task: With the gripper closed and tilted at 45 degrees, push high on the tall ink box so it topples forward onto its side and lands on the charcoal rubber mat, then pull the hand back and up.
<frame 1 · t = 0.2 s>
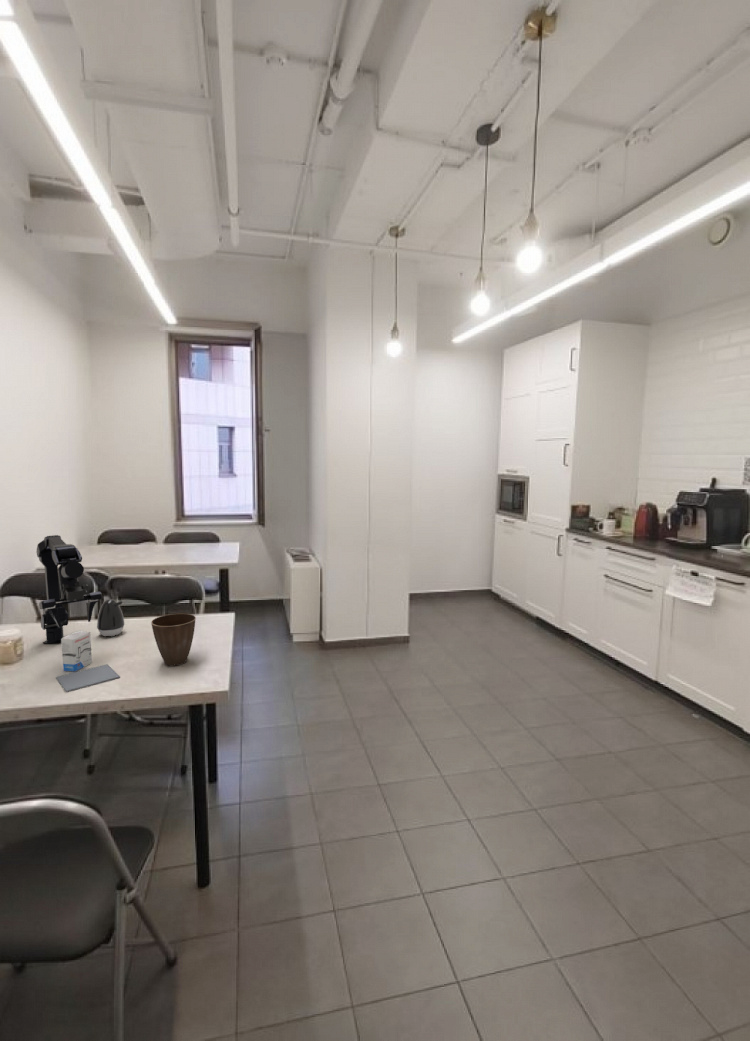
hand: (74, 624, 181), 15 cm above the table, tool tilted 15°, fingers open, 9 cm apart
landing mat: (88, 678, 173), on the table
ink box: (78, 667, 182), on the table
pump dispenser: (111, 635, 215), on the table
plant pot: (175, 662, 187), on the table
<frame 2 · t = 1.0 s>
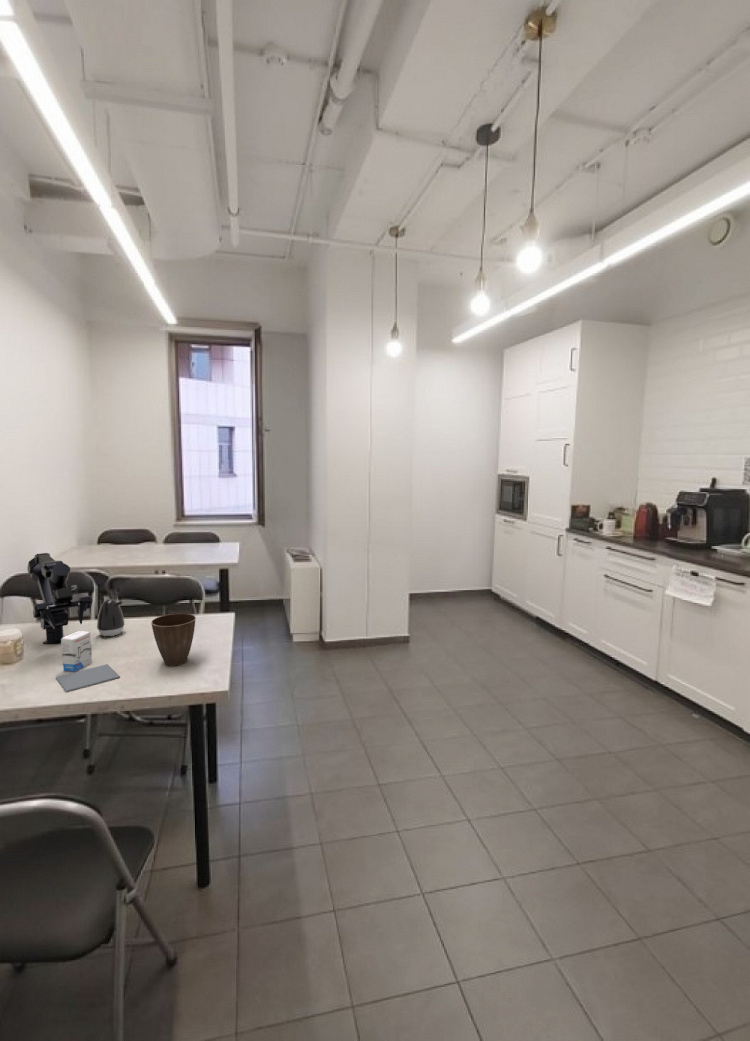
hand: (68, 626, 189), 12 cm above the table, tool tilted 45°, fingers open, 8 cm apart
nothing on the table moved.
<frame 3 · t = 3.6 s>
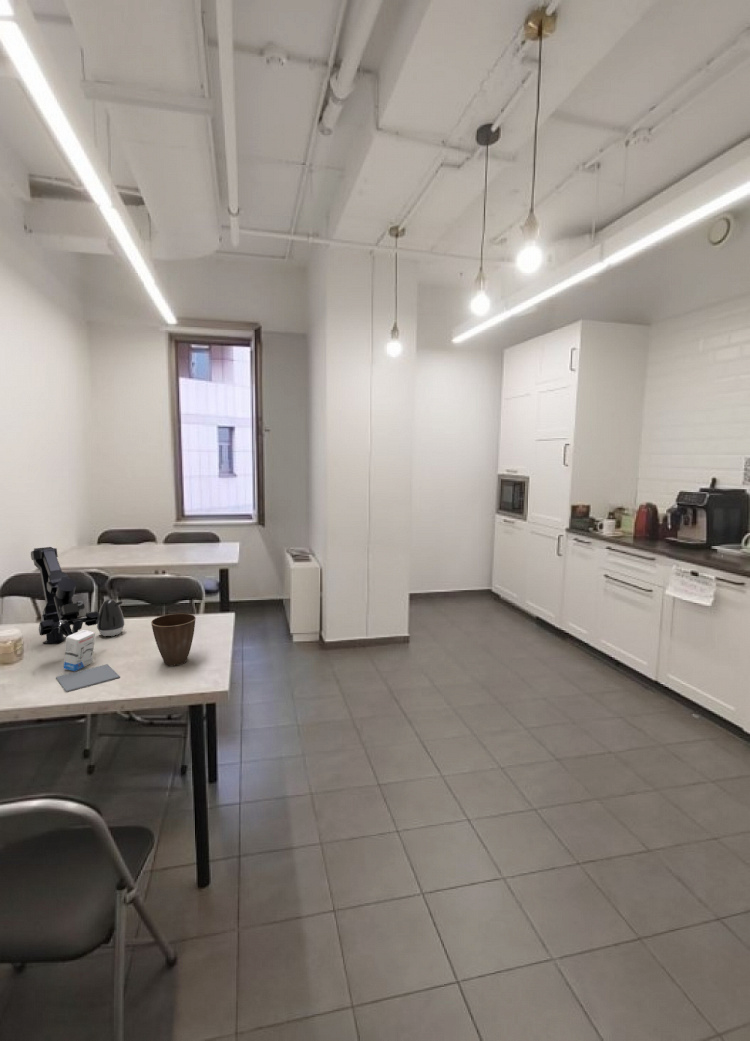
hand: (75, 642, 183), 8 cm above the table, tool tilted 45°, fingers closed
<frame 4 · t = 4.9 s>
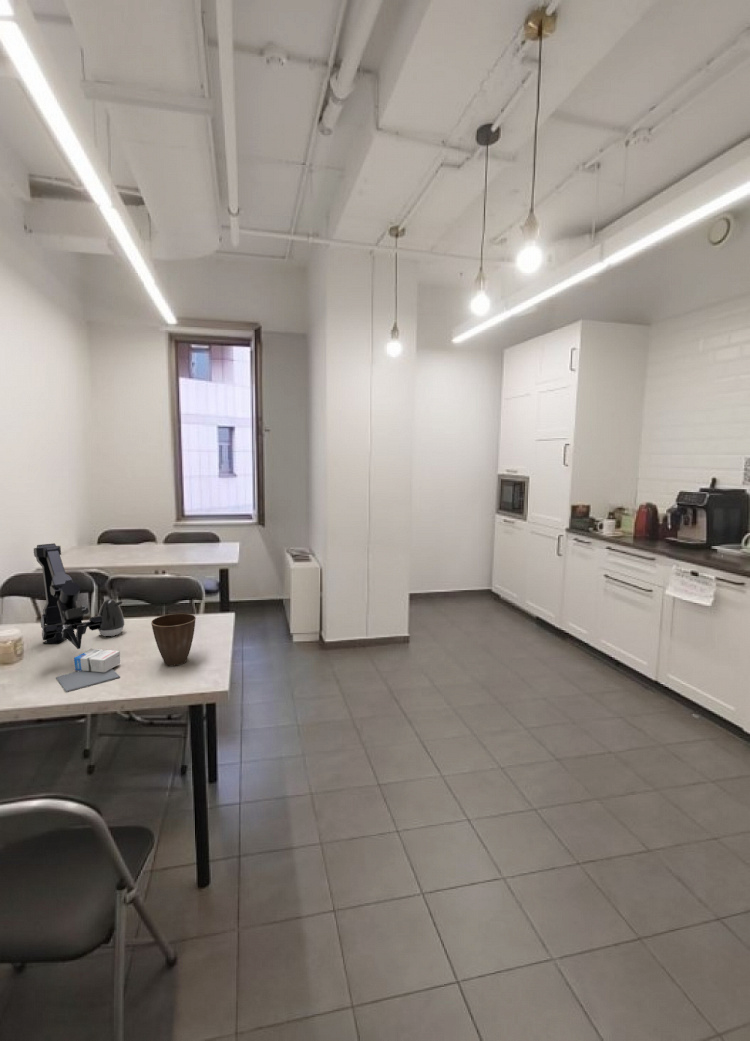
hand: (79, 648, 179), 8 cm above the table, tool tilted 45°, fingers closed
ink box: (82, 658, 182), point 3 cm above the table, touching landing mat
everything else where it was.
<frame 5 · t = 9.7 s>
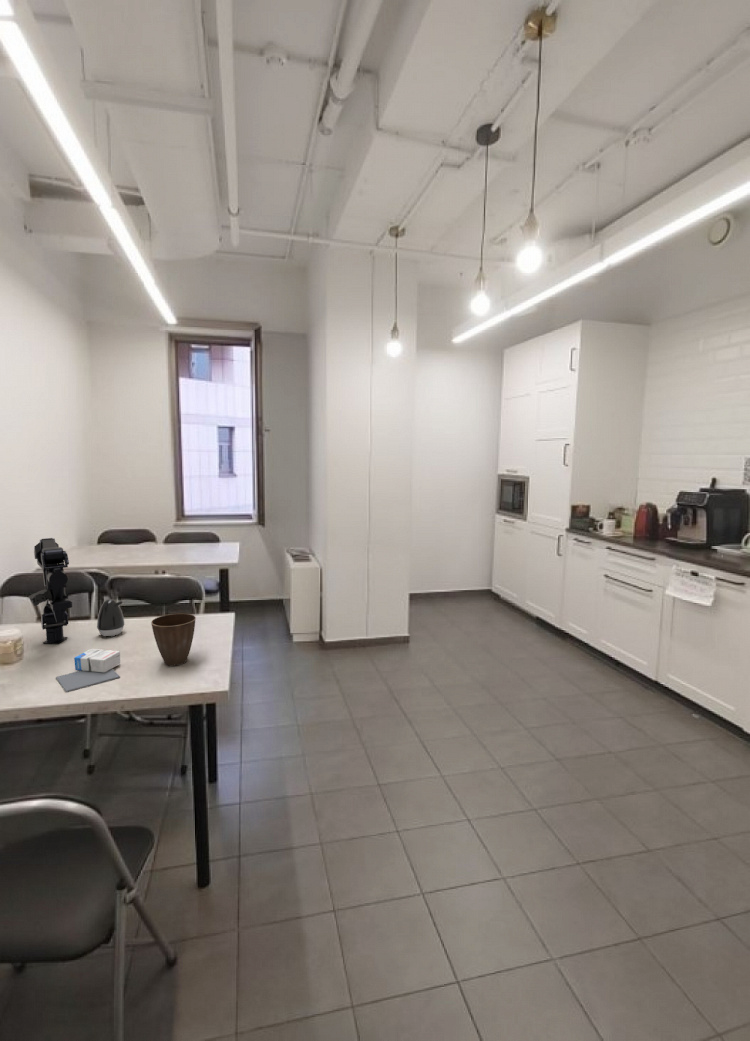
hand: (58, 622, 193), 12 cm above the table, tool pointing down, fingers closed
nothing on the table moved.
at the end: ink box tilted 91°; ink box touching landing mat; the gripper is holding nothing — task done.
